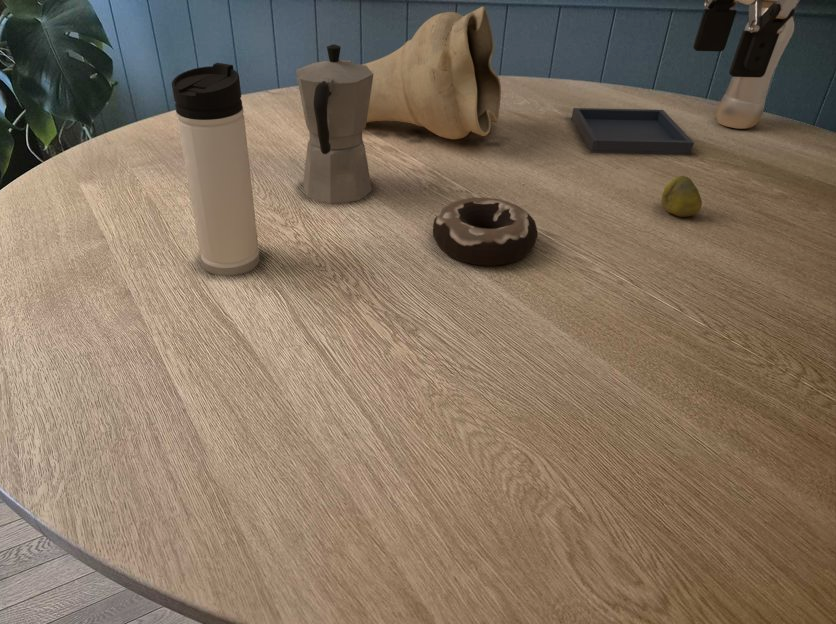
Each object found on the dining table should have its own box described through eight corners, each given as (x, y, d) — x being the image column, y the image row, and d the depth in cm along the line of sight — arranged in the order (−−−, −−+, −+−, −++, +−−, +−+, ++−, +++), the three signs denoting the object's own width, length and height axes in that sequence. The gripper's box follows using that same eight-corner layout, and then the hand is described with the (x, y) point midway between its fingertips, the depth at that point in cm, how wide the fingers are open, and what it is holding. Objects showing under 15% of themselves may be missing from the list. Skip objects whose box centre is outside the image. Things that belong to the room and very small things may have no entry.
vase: (272, 52, 92) (466, 14, 81) (325, -4, 106) (496, -43, 95) (322, 186, 107) (493, 170, 95) (363, 121, 120) (516, 100, 109)
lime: (662, 204, 85) (673, 167, 82) (701, 214, 83) (714, 176, 79) (651, 217, 82) (663, 179, 79) (692, 227, 80) (705, 189, 77)
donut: (532, 278, 70) (538, 245, 68) (423, 264, 72) (425, 232, 70) (536, 228, 79) (542, 197, 77) (439, 217, 81) (441, 187, 79)
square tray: (659, 122, 109) (663, 109, 108) (689, 156, 97) (694, 142, 96) (570, 120, 109) (573, 107, 108) (590, 154, 98) (593, 140, 97)
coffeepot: (313, 168, 93) (306, 29, 82) (379, 172, 92) (381, 33, 81) (286, 217, 81) (273, 63, 70) (361, 223, 80) (361, 67, 69)
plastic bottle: (706, 119, 110) (749, -16, 98) (747, 120, 110) (796, -15, 98) (720, 133, 105) (768, -8, 93) (763, 134, 105) (817, -7, 93)
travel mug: (272, 254, 74) (254, 67, 62) (239, 282, 69) (212, 86, 57) (225, 242, 76) (199, 59, 64) (190, 269, 71) (154, 76, 59)
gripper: (898, -144, 50) (803, 89, 61) (791, -148, 64) (729, 43, 74) (798, -146, 50) (721, 87, 61) (712, -149, 64) (662, 41, 74)
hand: (725, 62), depth 67 cm, fingers open, 9 cm apart
